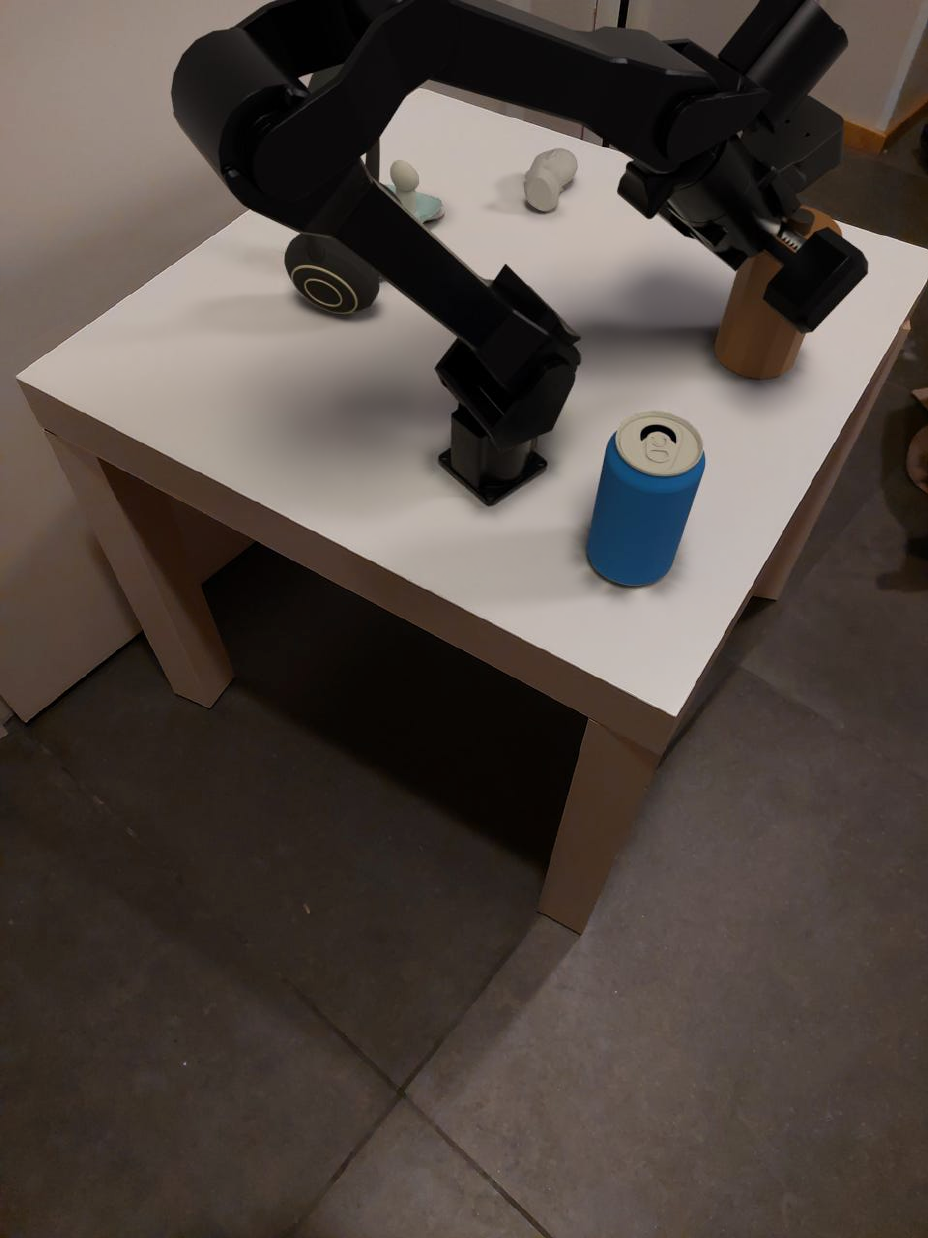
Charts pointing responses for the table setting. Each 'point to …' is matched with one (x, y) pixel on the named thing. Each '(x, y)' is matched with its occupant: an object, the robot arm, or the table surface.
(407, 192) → the pacifier
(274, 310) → the table surface
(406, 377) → the table surface
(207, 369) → the table surface
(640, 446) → the beverage can
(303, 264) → the headphones
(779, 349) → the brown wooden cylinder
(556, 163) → the pale two-lobed sculpture
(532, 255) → the table surface
